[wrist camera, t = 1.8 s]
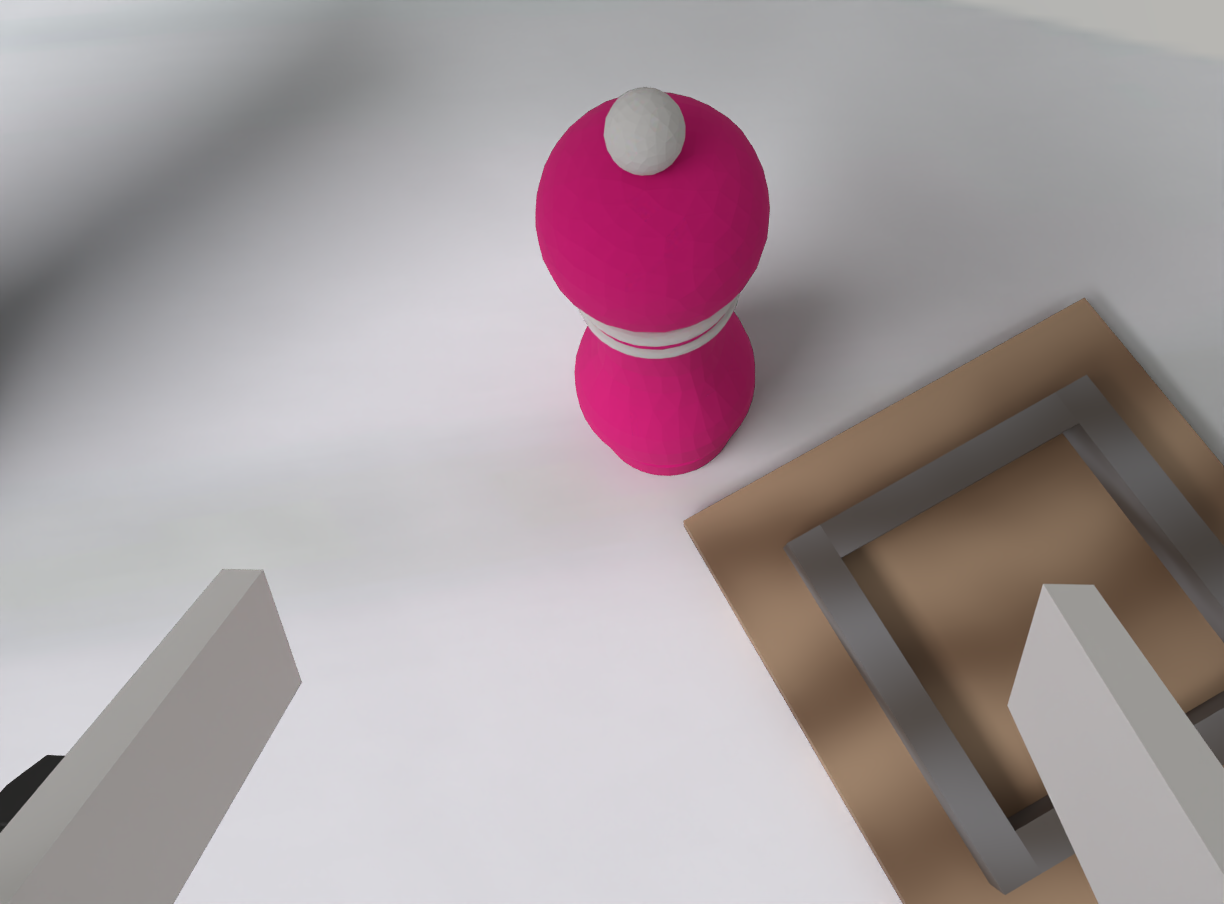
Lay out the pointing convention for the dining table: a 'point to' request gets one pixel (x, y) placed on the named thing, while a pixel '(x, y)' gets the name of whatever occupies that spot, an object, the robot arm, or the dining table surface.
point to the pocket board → (976, 593)
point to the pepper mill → (657, 271)
